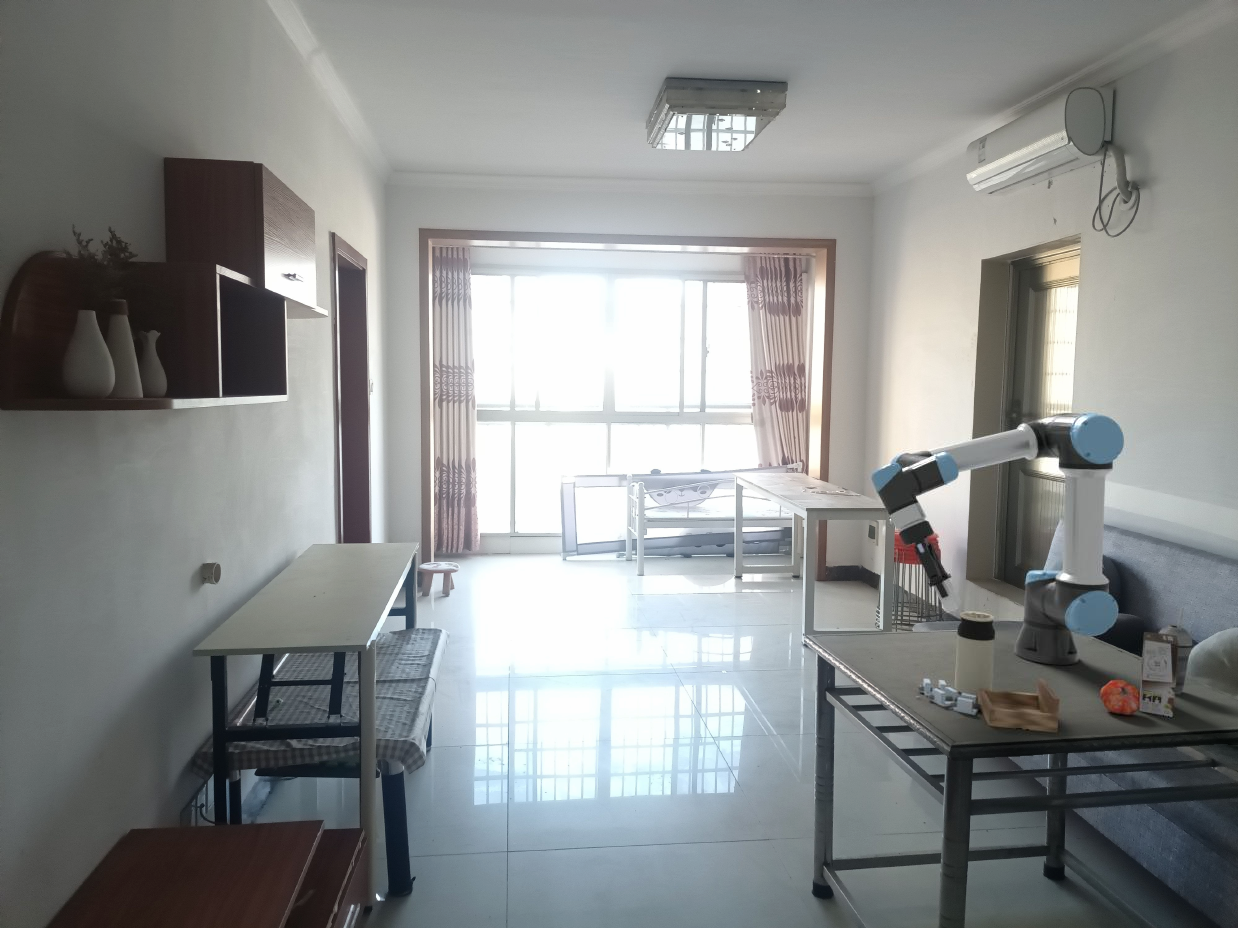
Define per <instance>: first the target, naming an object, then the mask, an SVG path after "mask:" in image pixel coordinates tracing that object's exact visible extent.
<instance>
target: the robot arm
mask: <svg viewBox="0 0 1238 928" xmlns="http://www.w3.org/2000/svg"><path fill="white" fill-rule="evenodd" d="M1124 445H1125V436H1124V433H1123V430H1122V429H1121V427H1120V424H1118V423H1117V422H1116V421H1115V420H1114V419H1113V418H1111V417H1109V416H1106V415H1104V414H1098V413H1093V412H1092V413H1091V412H1088V413H1074V412H1073V413H1071V412H1061V413H1057V414H1053V415H1049V416H1046V417H1043V418H1039V419H1035V420H1032V421H1028V422H1025V423H1021V424H1019V425H1018V426H1017V427H1016V429H1011V430H1007V431H1002V432H998V433H995V434H990V435H985V436H982V437H978V438H977V437H976V438H974V439H969V440H964V441H961V442H957V443H952V444H947V445H944V446H938V447H935V448H934V447H933V448H931V449H926V450H923V451H918V452H913V453H908V452H904V453H900V454H897V455H896V456H894V457H893V459H892V460H891V461H890V464H887V465H884V466H882V467H880V468H879V469H877V470H875V471H874V472H872V473H871V477H870V478H871V481H872V484H873V486H874V488H875V491H876V493H877V494H878V497H879V499H880V500H881V502H882V504H883V506H884V508H885V509H886V511H887V514H888V516H889V518H890V519H889V523H890V524H893V525H894V528H895V529H896V531H899V532H898V536H899V538H900V540H901V542H902V544H903V546H905V547H908V546H912V545H914V546H913V547H914V550H915V553H916V556H917V558H918V559H919V560H920V563H921V565H922V567H923V569H924V571H925V573H926V575H927V577H928V579H929V580H928V586H929V588H932V587H933V589H934V590H935V592H936V595H937V596H938V598H939V600H940V602H941V604H942V606H943V608H944V610H945V612H946V613H947V614H948V613H951V612H953V611H955V610H958V609H959V606H961V605H963V602H962V601H961V599H960V597H959V594H958V593H957V591H956V589H955V587H954V585H953V583H952V582H951V578H952V575H951V574H950V573H948V572H947V571H946V570H945V567H944V566H943V564H942V562H941V561H940V558H939V556H938V554H937V552H936V550H935V547H934V546H933V544H931V542H930V541H927V539H928V538H929V537H930V538H931V536H933V535H934V534H935V531H934V529H933V527H932V525H931V523H930V522H929V520H927V519H926V518H927V515H926V513H925V511H924V509H923V506H921V504H920V502H919V501H918V496H921V495H924V494H926V493H928V492H930V491H932V490H933V491H934V490H935V489H938V488H940V487H943V486H947V485H948V484H950V483H951V482H954V481H956V480H957V479H958V477H959V474H960V473H962V472H966V471H972V470H975V469H980V468H983V467H989V466H992V465H997V464H1001V463H1005V462H1009V461H1014V460H1020V459H1022V458H1025V459H1026V460H1030V461H1031V460H1035V459H1043V458H1053V459H1055V458H1056V459H1058V469H1059V470H1060V471H1061V472H1062V473H1063V474H1064V478H1065V479H1064V508H1063V509H1064V510H1063V511H1064V512H1063V513H1064V514H1063V538H1062V539H1063V541H1062V542H1063V546H1062V549H1063V550H1062V570H1051V569H1050V570H1049V569H1048V570H1047V569H1045V570H1044V569H1043V570H1041V569H1040V570H1039V569H1038V570H1036V569H1035V570H1029V571H1028V572H1027V574H1026V578H1025V582H1024V586H1025V587H1024V588H1025V589H1024V590H1025V591H1024V602H1023V603H1024V607H1023V623H1022V626H1021V629H1020V632H1019V634H1018V636H1017V638H1016V641H1015V644H1014V654H1015V655H1017V656H1018V657H1020V658H1022V659H1025V660H1027V661H1028V660H1029V661H1030V662H1031V661H1032V662H1036V663H1041V664H1048V665H1059V666H1060V665H1061V666H1062V665H1063V666H1064V665H1065V666H1067V665H1074V664H1076V663H1078V662H1079V650H1078V649H1079V648H1078V646H1077V642H1076V638H1075V635H1074V634H1078V635H1079V634H1080V635H1081V636H1085V637H1086V636H1087V637H1095V636H1099V635H1102V634H1104V633H1106V632H1108V630H1109V629H1110V628H1112V627H1113V626H1114V624H1115V623H1116V621H1117V618H1118V615H1119V605H1118V603H1117V600H1116V599H1115V598H1114V597H1113V596H1112V595H1111V594H1109V592H1110V591H1109V587H1110V580H1109V579H1108V578H1107V576H1106V575H1104V574H1103V554H1104V551H1103V550H1104V527H1105V526H1104V523H1105V520H1104V519H1105V495H1106V494H1105V492H1106V490H1105V489H1106V477H1107V475H1108V474H1109V473H1111V471H1113V469H1114V467H1113V466H1114V460H1116V459H1118V457H1119V455H1120V454H1122V452H1123V449H1124Z"/></svg>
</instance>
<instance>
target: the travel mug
mask: <svg viewBox="0 0 1238 928" xmlns="http://www.w3.org/2000/svg"><path fill="white" fill-rule="evenodd" d="M959 616H960V623H959V625H958V626H957V632H956V633H957V635H956V637H957V638H956V650H955V651H956V655H955V657H956V658H955V669H954V670H955V672H954V677H955V678H954V690H956V691H958V693H960V694H962V693H965V694H970V695H975V696H977V698H978V689H988V690H993V678H994V675H993V674H994V657H995V642H996V641H995V639H996V629H995V628H994V625H993V623H994V620H995V619H996V618H995V616H993V615H992V614H989V613H985V612H982V611H981V612H980V611H971V610H970V611H962V612H959Z"/></svg>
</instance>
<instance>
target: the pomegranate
mask: <svg viewBox="0 0 1238 928" xmlns="http://www.w3.org/2000/svg"><path fill="white" fill-rule="evenodd" d="M1100 689H1101V690H1100V699H1101V700H1102V702H1103V703H1102V704H1103V706H1104V708H1106V709H1107V711H1109V712H1111V713H1113V714H1117V715H1126V716H1130V715H1133V714H1135V713H1136V712H1137V711H1138V709H1140V690H1139V689H1137V687H1136V686H1134V685H1131V684H1129V683H1128V682H1126V681H1125V680H1121V679H1113V680H1110V681H1109V682H1107V683H1106V685H1103V686H1102V688H1100Z"/></svg>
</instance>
